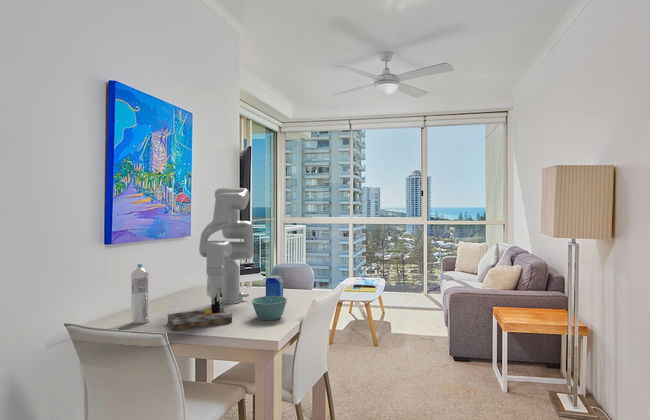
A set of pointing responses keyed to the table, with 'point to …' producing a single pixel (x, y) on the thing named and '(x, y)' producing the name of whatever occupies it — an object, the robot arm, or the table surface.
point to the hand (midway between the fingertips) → (215, 312)
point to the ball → (208, 312)
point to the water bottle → (139, 296)
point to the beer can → (274, 286)
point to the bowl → (269, 307)
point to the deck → (197, 319)
